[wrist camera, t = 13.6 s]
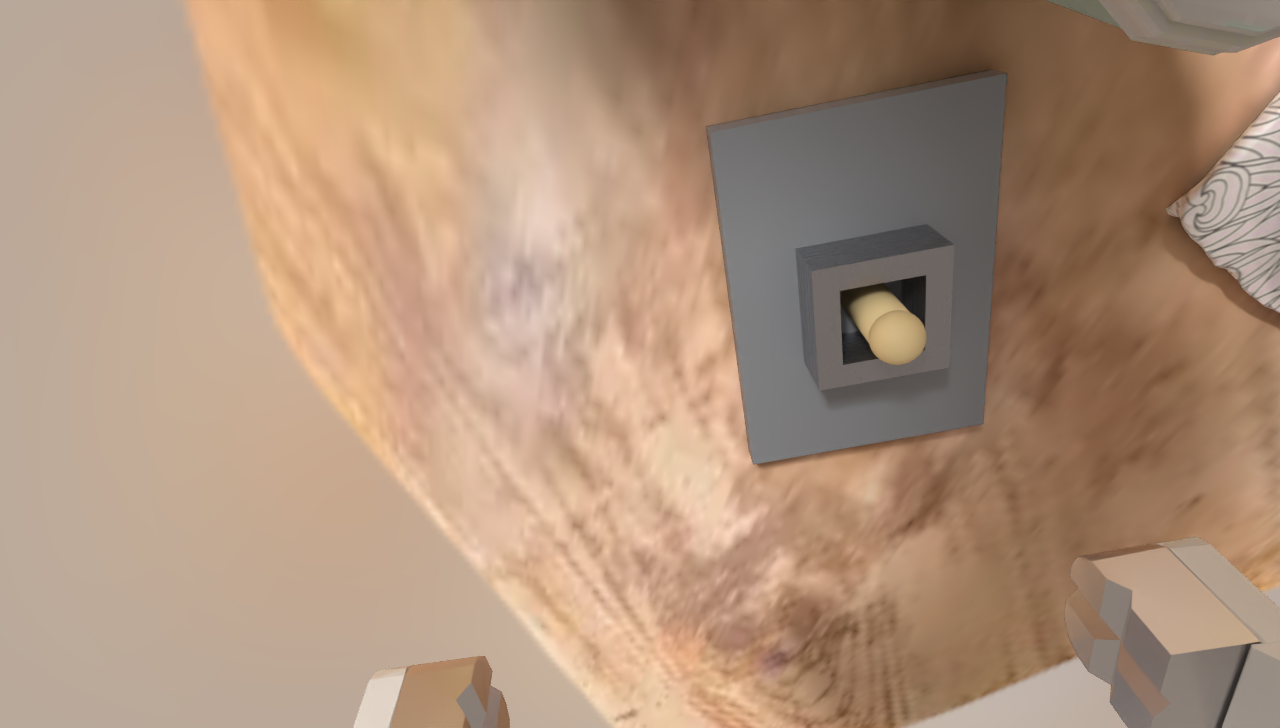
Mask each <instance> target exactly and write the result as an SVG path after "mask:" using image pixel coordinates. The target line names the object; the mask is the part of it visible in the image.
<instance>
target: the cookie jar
mask: <svg viewBox="0 0 1280 728" xmlns="http://www.w3.org/2000/svg"><path fill="white" fill-rule="evenodd" d="M1166 211H1167V212H1168V214H1169V215H1171V216H1175V217H1180V219H1181V223H1182V226H1183V228H1184V229H1185V231H1186V232H1187V234H1188V235H1189V236H1190V238H1191V239H1192V240H1194V241H1195V242H1196V243H1197V244H1199V245H1200V246H1201V247H1202V248H1203V250H1204V251H1205V253H1206V255H1207V257H1209V258H1210V259H1211V260H1212V262H1213V264H1214V266H1215V267H1218V268H1225V269H1226V270H1227V271H1228V272H1229V273H1230V274H1231V275H1232V276H1233V277H1234V278H1235V279H1236V280H1237V281H1238V282H1239V283H1240V285H1241V287H1242V289H1243V290H1244V291H1245V292H1246V293H1248V294H1249V295H1250V296H1252V297H1253V298H1255V299H1256V300H1257V301H1259V302H1260V303H1261V304H1262V305H1263V306H1265V307H1267V308H1270V309H1272V310H1274V311H1276V312H1278V313H1280V92H1279V93H1278V94H1277V95H1276V96H1275V98H1274V99H1273V100H1272V101H1271V102H1270V103H1269V104H1268V106H1267V107H1266V108H1265V109H1264V110H1263V111H1262V112H1261V113H1260V115H1259V116H1258V117H1257V118H1256V119H1255V120H1254V121H1253V122H1252V124H1251V125H1250V126H1249V127H1248V128H1247V129H1246V130H1245V132H1244V133H1243V134H1242V135H1241V136H1240V137H1239V138H1238V139H1237V141H1236V142H1235V143H1234V144H1233V145H1232V146H1231V147H1230V148H1229V150H1228V151H1227V152H1226V153H1225V154H1224V155H1223V156H1222V158H1221V159H1220V160H1219V161H1218V162H1217V163H1216V164H1215V165H1214V167H1213V168H1212V169H1211V170H1210V171H1209V172H1208V173H1207V175H1206V176H1205V177H1204V178H1203V179H1202V180H1201V181H1200V182H1199V183H1198V184H1197V185H1196V186H1195V187H1193V188H1192V189H1191V190H1190V191H1188V192H1187V193H1186V194H1184V195H1183V196H1182V197H1181V198H1179V199H1178V200H1177V201H1176V202H1174V203H1173V204H1172V205H1170V206H1169V207H1168V208H1166Z"/></svg>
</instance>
